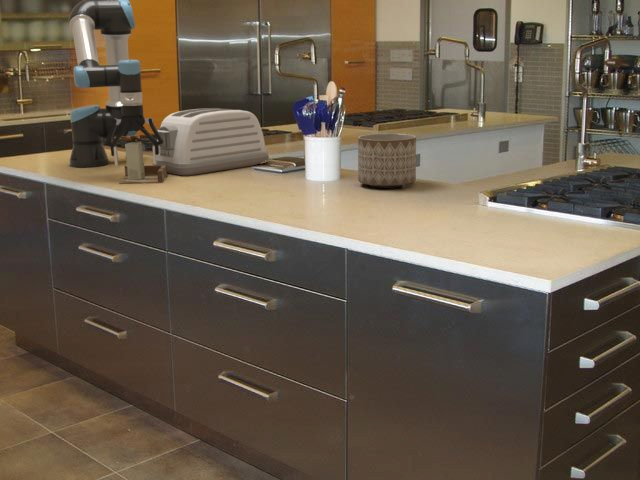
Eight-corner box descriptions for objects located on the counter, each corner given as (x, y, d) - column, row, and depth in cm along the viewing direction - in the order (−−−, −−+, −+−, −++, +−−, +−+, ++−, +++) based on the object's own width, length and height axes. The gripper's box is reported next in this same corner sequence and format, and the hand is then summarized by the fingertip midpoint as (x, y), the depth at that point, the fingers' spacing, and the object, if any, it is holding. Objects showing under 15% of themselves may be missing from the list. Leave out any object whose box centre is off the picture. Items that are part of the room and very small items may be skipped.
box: (145, 177, 320) (143, 142, 317) (141, 179, 316) (138, 143, 313) (131, 177, 321) (129, 142, 318) (126, 179, 316) (124, 143, 313)
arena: (126, 176, 326) (125, 166, 326) (167, 175, 327) (166, 164, 326) (119, 183, 312) (118, 172, 311) (162, 182, 312) (161, 171, 312)
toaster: (144, 172, 338) (141, 113, 333) (236, 158, 368) (234, 104, 363) (180, 178, 322) (176, 116, 317) (272, 163, 352) (271, 107, 347)
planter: (348, 183, 304) (348, 135, 300) (398, 178, 312) (398, 131, 308) (374, 192, 287) (374, 141, 283) (426, 187, 294) (426, 137, 291)
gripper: (93, 106, 308) (98, 167, 313) (166, 104, 309) (169, 165, 314) (98, 104, 315) (102, 163, 320) (168, 102, 316) (172, 162, 321)
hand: (135, 164), depth 317 cm, fingers open, 13 cm apart
